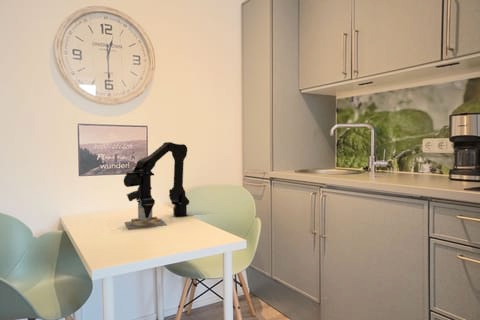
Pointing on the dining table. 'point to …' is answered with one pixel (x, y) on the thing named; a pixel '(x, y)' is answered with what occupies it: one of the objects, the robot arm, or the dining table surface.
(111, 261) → the dining table surface
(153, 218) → the slot frame
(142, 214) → the medicine box
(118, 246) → the dining table surface
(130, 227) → the mat
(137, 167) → the robot arm
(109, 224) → the dining table surface
